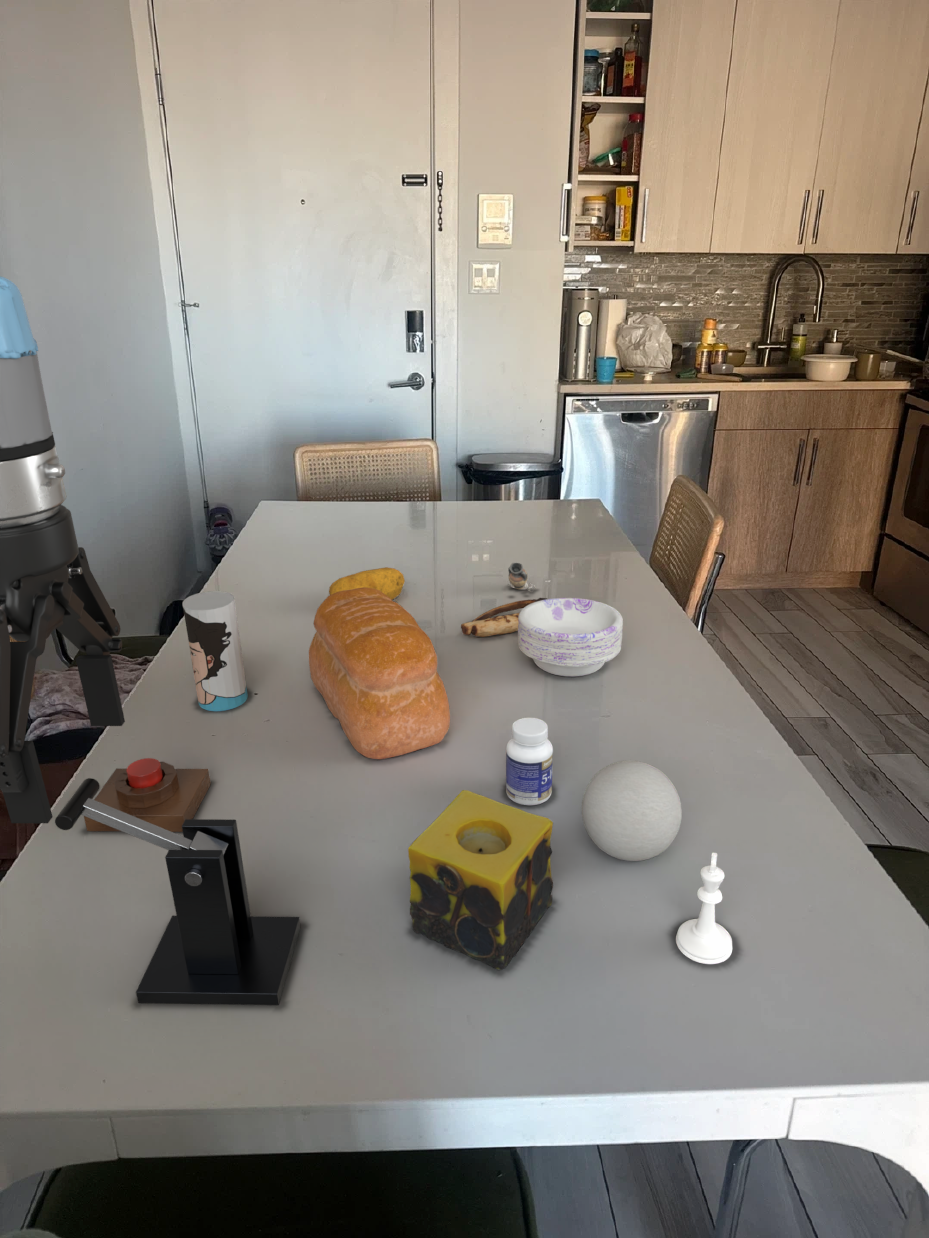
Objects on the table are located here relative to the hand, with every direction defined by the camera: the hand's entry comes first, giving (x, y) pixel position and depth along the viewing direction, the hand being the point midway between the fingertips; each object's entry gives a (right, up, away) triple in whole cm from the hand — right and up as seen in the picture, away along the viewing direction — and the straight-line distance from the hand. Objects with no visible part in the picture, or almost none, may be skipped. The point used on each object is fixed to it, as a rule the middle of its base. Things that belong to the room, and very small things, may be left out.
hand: (73, 768), depth 70 cm
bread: (+19, -1, +49) cm, 52 cm away
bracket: (+10, -19, +8) cm, 23 cm away
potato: (+15, +14, +82) cm, 84 cm away
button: (-4, -6, +28) cm, 29 cm away
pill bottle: (+39, -8, +31) cm, 50 cm away
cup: (-2, +1, +52) cm, 52 cm away
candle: (+33, -16, +12) cm, 39 cm away
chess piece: (+53, -18, +9) cm, 56 cm away
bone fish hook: (+38, +10, +73) cm, 83 cm away
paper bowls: (+47, +5, +60) cm, 77 cm away
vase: (+41, +17, +86) cm, 97 cm away
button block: (-4, -9, +29) cm, 31 cm away
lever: (+4, -7, +3) cm, 8 cm away
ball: (+48, -12, +21) cm, 54 cm away
